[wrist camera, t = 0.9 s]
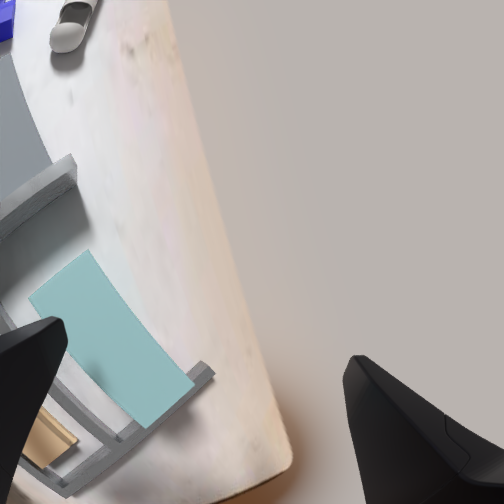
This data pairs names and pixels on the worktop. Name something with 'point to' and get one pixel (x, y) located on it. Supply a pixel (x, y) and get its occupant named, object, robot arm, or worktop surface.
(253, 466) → the worktop surface
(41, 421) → the upper offcut
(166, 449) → the worktop surface
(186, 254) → the worktop surface
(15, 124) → the rubber mat
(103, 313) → the pale teal block
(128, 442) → the rack
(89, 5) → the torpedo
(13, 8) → the blue piece
